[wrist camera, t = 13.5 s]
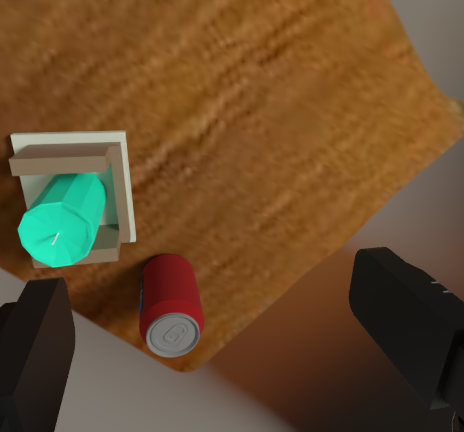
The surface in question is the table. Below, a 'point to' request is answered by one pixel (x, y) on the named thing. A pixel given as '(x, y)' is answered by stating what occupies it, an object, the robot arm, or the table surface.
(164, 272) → the beverage can
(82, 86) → the table surface
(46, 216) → the candle
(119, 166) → the holder
